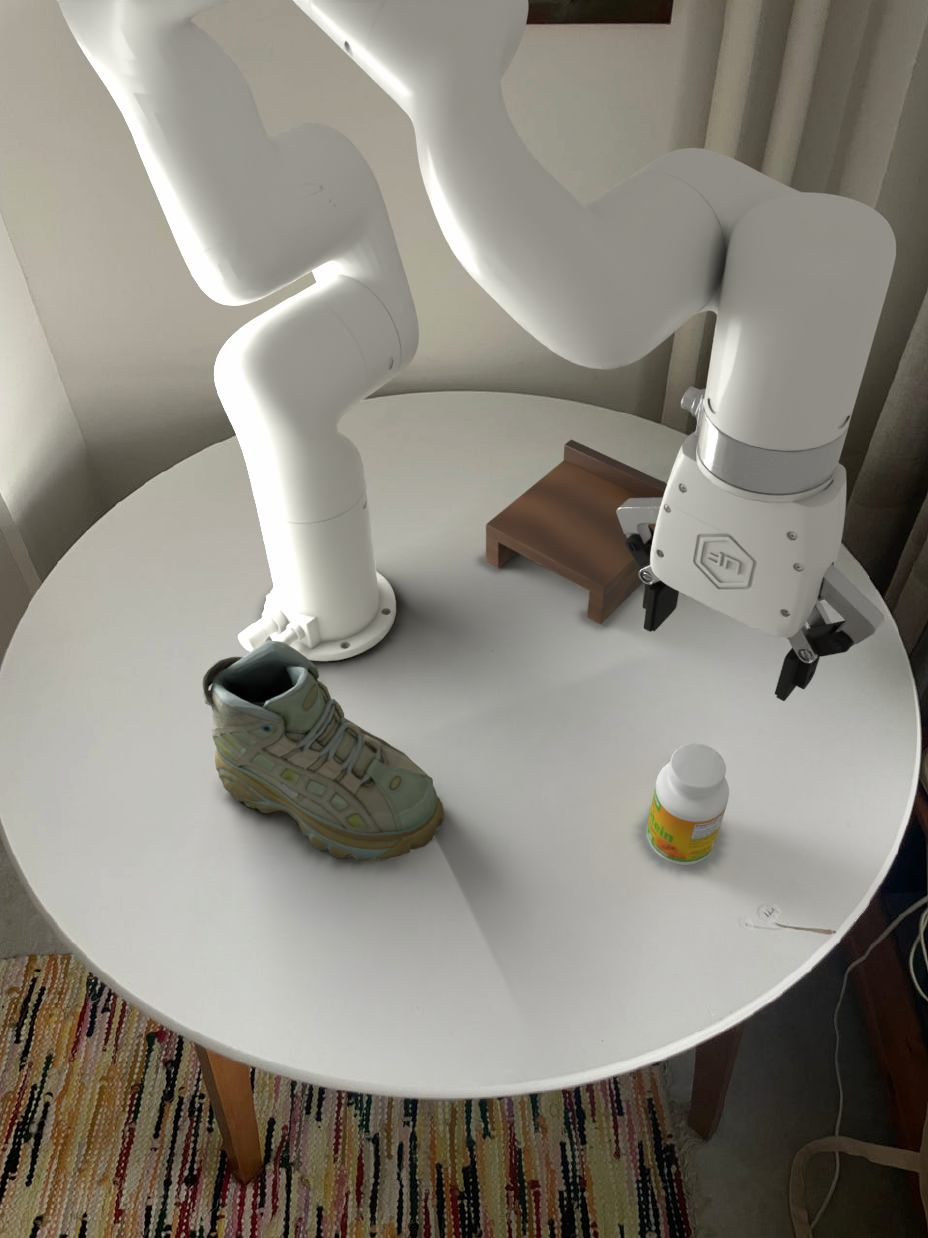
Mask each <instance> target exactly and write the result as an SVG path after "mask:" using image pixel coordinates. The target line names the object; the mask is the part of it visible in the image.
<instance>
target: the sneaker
mask: <svg viewBox="0 0 928 1238" xmlns="http://www.w3.org/2000/svg"><path fill="white" fill-rule="evenodd" d="M319 678H320V673H319V669H318V667H317V666H316V665H315V664H314V663H313V662H312V660H308V659H307V658H306V657H305V656H304V655H302V654H301V653H300V652H298V651H297V650H295V649H294V648H292V647H291V646H289V645H288V644H286V643H283V642H280V641H276V640H272V639H271V640H266V641H264V642H263V643H262V644H260V645H259V646H258V647H257V648H255V649H254V650H253V651H251V652H250V651H249V653H247V654H246V655H244V656H231V657H226V658H222V659H220V660H218V661H216V662H214V663H213V664H212V665H211V666H210V668H209V669H207V671H206V673H205V674H204V675H203V677H202V681H201V685H202V698H203V701H204V704H205V705H207V706H209V707H211V711H212V714H211V716H212V717H211V718H212V727H211V733H212V734H211V735H212V739H213V743H214V745H215V756H214V764H215V769H216V771H217V773H218V777H219V779H220V781H221V783H222V786H223V788H224V789H225V791H227V792H229V793H230V795H231V797H232V798H233V799H234V800H235V801H236V802H243V803H244V805H245V806H246V807H248V808H251V809H254V810H256V809H257V810H258V811H259V812H260V813H262V814H263V813H264V814H270V813H273V812H280V811H281V812H284V813H286V814H288V815H289V816H290V817H291V818H293V820H295V822H297V824H298V827H299V829H300V831H301V834H302V836H303V837H304V838H307V839H309V842H310V844H311V846H312V847H313V848H315V849H317V850H319V851H320V852H322V851H328V852H329V854H331V856H333V857H336V858H339V859H348V858H349V857H350V856H351V857H353V858H354V859H355V860H356V862H367V861H370V860H374V859H375V860H378V861H385V860H390V859H394V858H398V857H402V856H405V855H408V854H409V853H410V852H411V850H417V849H421V848H424V847H425V846H427V845H429V843H430V842H432V841H433V839H435V836H436V835H437V831H438V828H440V827H441V826H442V824H443V823H444V822H443V821H444V819H445V818H444V817H445V808H444V805H443V802H442V800H441V798H440V797H439V796H438V794H437V791H436V789H435V786H434V779H433V778H432V777H431V775H428V774H427V773H426V772H425V771H424V770H423V769H422V768H421V767H420V766H419V765H418V764H417V763H416V762H414V761H413V760H412V759H411V758H410V757H409V756H408V755H407V754H406V753H405V752H403V750H402V751H401V750H400V749H398V748H396V747H394V746H393V745H391V744H390V743H388V742H387V741H386V740H384V739H382V738H381V737H378V736H376V735H374V734H372V733H370V732H368V731H367V730H365V729H363V728H362V727H361V726H359V725H358V724H356V723H354V722H352V720H349V719H348V718H346V717H345V712H344V710H343V707H342V706H341V705H340V703H339V702H338V701H337V700H336V699H335V698H332V696H331V694H330V691H329V689H328V687H327V685H325V683H323V681H321V680H319ZM209 688H210V689H209Z"/></svg>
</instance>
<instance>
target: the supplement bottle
mask: <svg viewBox="0 0 928 1238" xmlns="http://www.w3.org/2000/svg"><path fill="white" fill-rule="evenodd" d="M726 772H727V767H726V762H725V760H724V758H723V756H722V755H721V754H720V753H719V752H718V751H717V750H716V749H714V748H713V747H711V746H709V745H706V744H705V743H704V744H703V743H695V742H693V743H686V744H683V745H681V746H679V747H677V749H676V750H674V752H673V753H672V755H671V757H670V760H669V762H667V763H666V764H664V766H663V767H662V768H661V770H660V771H659V773H658V774H657V779H656V780H655V785H654V790H653V796H652V799H651V800H652V801H651V805H650V811H649V816H648V819H647V824H646V838H647V840H648V843H649V845H650V847H651V849H652V850H653V851H654V852H655V853H656V854H657V855H658V856H660V857H661V858H662V859H664V860H666V861H667V862H669V863H672V864H676V865H681V866H688V865H693V864H697V863H700V862H702V861H704V860H705V859H706V858H707V857H709V856H710V855H711V853H712V852H713V849H714V848H715V845H716V843H717V840H718V836H719V834H720V833H719V832H720V830H721V826H722V823H723V819H724V816H725V812H726V809H727V805H728V802H729V797H730V787H729V783H728V780H727V778H726Z"/></svg>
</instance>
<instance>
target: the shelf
mask: <svg viewBox="0 0 928 1238" xmlns="http://www.w3.org/2000/svg"><path fill="white" fill-rule="evenodd" d="M667 483H668V482H665V481H663V480H661V479H658V478H656V477H654V476H652V475H650V474H648V473H646V472H643V471H641V470H639V469H637V468H635V467H632V466H631V465H628V464H626V463H623V462H622V461H619V460H617V459H615V458H614V457H613V458H612V457H611V456H608V455H606V454H604V453H602V452H600V451H597V450H596V449H593V448H590V447H589V446H587V445H584V444H582V443H580V442H578V441H576V440H573V439H569V440H568V441H567V442H566V443H564V448H563V460H562V461H561V462H560V463H559V464H557V465H556V466H555V467H554V468H552V470H550V471H548V472H547V473H546V474H545V475H544V476H543V477H541V479H539V480H537V482H536V483H534V484H532V486H531V487H529V488H528V489H527V490H526V491H525V492H523V493H522V494H521V495H519V496H518V497H517V498H515V500H514V501H512V502H511V503H510V504H509V505H507V506H506V507H505V508H504V509H503V510H501V511H500V512H499V513H497V514H496V515H495V516H494V517H493V518H491V519H490V520H489V521H488V522H487V523H486V524H485V562H486V563H488V564H490V565H492V566H494V567H495V568H497V569H499V568H500V567H502V565H504V564H505V563H506V562H507V561H509V560H510V559H511V558H512V557H513V556H514V555H516V553H518V554H519V555H521V556H524V557H525V558H527V559H529V560H530V561H532V562H535V563H536V564H538V565H540V566H542V567H544V568H546V569H547V570H549V571H551V572H553V573H555V574H557V575H559V576H560V577H562V578H564V579H566V580H568V581H570V582H572V583H573V584H575V585H577V586H578V587H581V588H583V589H585V590H587V591H588V592H589V594H588V604H587V613H586V614H587V615H586V617H587V618H588V619H589V620H592V621H593V622H595V623H597V624H599V625H602V624H603V623H604V622H605V621H606V620H607V619H608V618H609V617H610V616H611V615H612V614H614V612H615V611H616V610H617V609H618V608H619V607H620V606H621V605H622V604H623V603H624V602H625V601H626V600H627V599H628V598H629V597H630V596H631V595H633V593H634V592H635V591H636V590H637V589H638V588H639V587H640V586H641V585H642V584H644V582H642V581H641V579H640V578H639V571H640V570H641V568H640V566H639V565H638V563H637V562H636V560H635V559H634V557H633V556H632V554H631V553H630V551H629V550H628V548H627V546H626V543H625V542H626V539H627V536H626V534H624V532H623V530H622V527H621V524H620V521H619V519H618V516H617V512H616V511H617V509H618V508H619V507H620V506H621V505H622V504H623V503H624V502H626V501H627V500H628V499H629V498H662V497H663V496H664V493H665V489H666V486H667ZM648 526H649V527H651V528H652V530H653V531H655V527H656V524H649V525H648Z"/></svg>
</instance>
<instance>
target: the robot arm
mask: <svg viewBox="0 0 928 1238" xmlns="http://www.w3.org/2000/svg"><path fill="white" fill-rule="evenodd" d="M237 1H238V0H56V2H57V3H58V6H59V8H60V11H61V13H62V16H63V18H64V21H65V22H66V24H67V26H68V28H69V30H70V32H71V34H72V35H73V37H74V39H75V41H76V43H77V44H78V46H79V47H80V49H81V50H82V52H83V54H84V55H85V57H86V58H87V61H89V64H90V65H91V66H92V68H93V69H94V71H95V72H96V74H97V75H98V77H99V78H100V79H101V81H102V82H103V84H104V85H105V87H106V89H107V90H108V92H109V93H110V95H111V97H112V99H113V100H114V101H115V103H116V106H117V107H118V109H119V110H120V112H121V113H122V116H123V118H124V120H125V122H126V124H127V126H128V129H129V131H130V132H131V135H132V137H133V140H134V143H135V146H136V149H137V150H138V153H139V155H140V158H141V160H142V162H143V165H144V167H145V170H146V172H147V175H148V177H149V180H150V182H151V185H152V187H153V189H154V191H155V193H156V197H157V198H158V201H159V203H160V206H161V208H162V210H163V213H164V215H165V217H166V220H167V222H168V225H169V227H170V229H171V232H172V234H173V237H174V239H175V242H176V244H177V246H178V249H179V251H180V253H181V256H182V257H183V259H184V261H185V263H186V265H187V268H188V269H189V271H190V273H191V276H192V277H193V279H194V280H195V283H197V285H198V286H199V288H200V289H201V290H202V291H203V292H204V293H205V294H206V295H207V296H208V297H209V298H210V299H212V300H213V301H215V302H216V303H218V304H221V305H224V306H235V307H236V306H243V305H248V304H251V303H255V302H257V301H260V300H262V299H264V298H267V297H268V296H270V295H272V294H274V293H276V292H278V291H280V290H281V289H283V288H286V287H287V286H289V285H290V284H292V283H294V282H296V281H297V280H300V279H301V278H302V277H304V276H307V275H308V274H310V273H311V272H312V274H313V277H314V279H315V281H316V282H315V283H314V284H312V285H310V286H309V287H307V288H305V289H303V290H302V291H300V292H299V293H297V294H295V295H293V296H291V297H288V298H287V299H285V300H283V301H282V302H280V303H278V304H277V305H274V307H272V308H270V309H268V310H267V311H264V312H263V313H261V314H260V315H258V316H256V317H255V318H253V319H252V320H250V321H249V322H247V323H245V324H244V325H243V326H242V327H240V328H239V329H238V330H237V331H235V332H234V333H233V334H232V335H231V336H230V337H229V338H228V340H227V341H226V342H225V343H224V345H223V346H222V347H221V349H220V351H219V353H218V354H217V357H216V360H215V364H214V370H213V371H214V372H213V377H214V384H215V388H216V391H217V395H218V397H219V399H220V402H221V404H222V406H223V408H224V411H225V413H226V415H227V417H228V419H229V422H230V423H231V425H232V428H233V430H234V432H235V435H236V437H237V440H238V442H239V445H240V448H241V450H242V453H243V457H244V461H245V464H246V468H247V471H248V476H249V479H250V484H251V489H252V494H253V498H254V501H255V505H256V509H257V514H258V519H259V523H260V528H261V529H260V530H261V532H262V537H263V542H264V546H265V551H266V556H267V561H268V565H269V570H270V574H271V579H272V583H273V588H272V589H271V591H270V593H268V594H267V595H265V598H266V601H265V603H264V607H263V608H264V609H263V612H262V613H261V618H260V619H259V620H257V621H256V622H255V623H252V624H251V625H249V626H247V628H245V629H244V630H242V631H241V632H240V633H238V635H237V638H238V641H239V643H240V645H241V646H242V647H243V648H244V649H245V650H246V651H248V652H249V653H250V652H251V651H253V650H254V649H256V648H257V647H258V646H260V645H261V644H263V643H264V642H267V641H268V640H267V639H268V638H271V640H276V641H280V642H283V643H286V644H288V645H289V646H291V647H292V648H294V649H295V650H297V651H298V652H300V653H301V654H302V655H304V656H305V657H306V658H307V659H308V660H309V661H315V662H329V661H330V662H331V661H340V660H344V659H349V658H352V657H355V656H357V655H360V654H363V653H364V652H366V651H368V650H369V649H372V648H373V647H374V646H376V645H377V644H378V643H380V642H381V641H382V640H383V639H384V638H385V636H386V635H387V634H388V633H389V632H390V630H391V628H392V626H393V624H394V622H395V619H396V616H397V600H396V594H395V591H394V589H393V587H392V585H391V583H390V582H389V581H388V580H387V578H386V577H385V576H383V575H382V574H381V573H379V572H378V571H377V567H376V559H375V551H374V550H375V549H374V541H373V533H372V525H371V516H370V515H371V514H370V507H369V499H368V490H367V489H368V488H367V481H366V480H367V479H366V475H365V473H366V472H365V467H364V461H363V459H362V456H361V453H360V451H359V449H358V447H357V446H356V445H355V444H354V441H352V440H351V439H350V438H349V437H348V436H347V435H345V434H344V433H342V432H340V431H339V429H338V426H339V423H340V421H341V420H342V418H343V417H344V416H345V415H346V414H348V413H349V411H351V410H353V409H354V408H355V407H357V406H358V405H359V404H360V403H361V402H362V401H364V400H365V399H367V398H368V397H370V396H371V395H372V394H374V393H375V392H376V391H378V390H379V389H381V388H382V387H384V386H385V385H386V384H388V383H389V382H390V381H392V380H393V379H395V378H396V377H397V376H399V375H400V374H401V373H402V372H404V370H405V369H406V368H407V367H408V366H409V365H410V364H411V362H412V361H413V360H414V357H415V355H416V354H417V351H418V346H419V340H420V329H419V319H418V315H417V310H416V306H415V303H414V299H413V295H412V292H411V289H410V284H409V282H408V277H407V275H406V270H405V268H404V264H403V260H402V257H401V253H400V250H399V246H398V244H397V240H396V237H395V234H394V230H393V226H392V222H391V220H390V217H389V214H388V210H387V209H388V208H387V205H386V204H385V200H384V197H383V194H382V192H381V191H382V190H381V189H380V185H379V182H378V180H377V178H376V175H375V174H374V171H373V170H372V168H371V166H370V164H369V162H368V161H367V160H366V157H365V156H364V155H363V154H362V153H361V151H360V150H359V148H358V147H356V145H355V143H353V141H351V140H350V139H349V138H348V137H347V136H346V135H345V134H343V133H342V132H340V131H339V130H337V129H336V128H334V127H332V126H329V125H327V124H322V123H319V122H303V123H299V124H295V125H291V126H289V127H286V128H284V129H281V130H279V131H277V132H275V133H272V134H270V135H269V136H268V134H267V131H266V129H265V127H264V124H263V121H262V119H261V117H260V114H259V111H258V108H257V104H256V101H255V98H254V95H253V92H252V89H251V87H250V85H249V82H248V81H247V78H246V76H245V74H244V73H243V71H242V70H241V68H240V66H238V64H237V63H236V61H235V60H234V59H233V58H232V57H231V56H230V54H228V52H227V51H226V50H225V49H224V48H223V47H222V46H221V45H220V44H219V43H218V42H217V40H215V39H214V38H213V37H212V36H211V35H209V34H208V33H207V32H206V31H205V30H203V28H201V27H200V26H198V25H197V24H195V23H194V22H193V21H192V19H193V18H194V17H195V16H196V15H199V14H200V13H202V12H205V11H207V10H208V11H209V10H210V9H213V8H216V7H220V6H222V5H226V4H229V3H232V2H237ZM292 2H293V3H294V4H296V6H297V7H298V8H300V10H301V11H302V12H304V14H306V15H307V16H308V17H309V18H310V19H311V21H313V23H315V25H316V26H318V27H319V28H320V30H322V31H323V32H324V33H325V34H326V35H327V36H328V37H329V38H330V39H331V40H332V41H333V42H334V43H335V44H336V45H337V46H338V47H339V48H340V49H341V50H342V51H343V52H344V53H346V55H347V56H348V57H349V58H350V59H351V60H353V62H354V63H356V64H357V66H358V67H359V68H361V70H363V72H365V74H367V75H368V76H369V77H370V78H371V79H372V81H374V82H375V83H376V85H378V86H379V87H380V88H381V89H382V90H383V92H385V93H386V94H387V95H388V96H389V97H390V98H391V99H392V100H393V101H394V102H395V103H396V104H397V105H398V106H399V107H400V108H401V109H402V110H403V111H404V112H405V113H406V114H407V116H408V117H409V119H410V121H411V122H412V126H413V129H414V135H415V145H416V153H417V159H418V164H419V171H420V174H421V178H422V183H423V185H424V189H425V192H426V194H427V197H428V199H429V202H430V205H431V208H432V210H433V213H434V216H435V218H436V220H437V223H438V225H439V227H440V230H441V232H442V234H443V237H444V238H445V240H446V242H447V244H448V246H449V248H450V250H451V252H452V253H453V255H454V256H455V257H456V259H457V260H458V262H459V263H460V264H461V266H462V267H463V269H464V270H465V271H466V272H467V273H468V274H469V275H470V277H471V278H472V279H473V280H474V281H475V282H476V283H477V284H478V285H479V286H480V287H481V289H483V290H484V291H485V292H486V293H487V294H488V295H489V297H491V298H492V299H493V300H494V301H495V302H496V303H497V304H498V305H499V306H500V307H501V308H502V309H503V310H504V311H505V312H506V313H507V314H508V315H509V317H511V318H512V319H513V320H514V321H515V322H516V323H517V324H518V325H519V326H521V327H522V328H523V329H524V330H525V331H526V332H527V333H528V334H530V335H531V336H532V337H533V338H535V340H537V341H538V342H539V343H540V344H541V345H543V346H545V347H546V348H547V349H548V350H549V351H551V352H552V353H554V354H555V355H557V356H559V357H561V358H563V359H565V360H567V361H569V362H570V363H572V364H575V365H578V366H581V367H583V368H587V369H593V370H613V369H619V368H623V367H627V366H629V365H631V364H633V363H636V362H638V361H640V360H641V359H642V358H645V357H646V356H647V355H648V354H649V353H651V352H652V351H654V350H655V349H656V348H657V347H659V346H660V345H661V344H662V343H663V342H664V341H666V340H667V339H668V338H669V337H671V336H672V335H673V334H674V333H675V332H677V330H678V329H679V328H681V327H682V326H683V325H684V324H685V323H686V322H687V321H689V320H690V319H691V318H693V316H694V315H697V314H701V313H705V312H713V313H714V314H715V315H716V321H715V326H714V333H713V340H712V341H713V342H712V347H711V353H710V359H709V367H708V373H707V379H706V385H705V388H702V389H699V388H697V387H694V386H689V387H688V388H687V389H686V390H685V392H684V393H683V396H682V399H681V401H680V408H681V409H682V410H684V411H686V412H688V413H690V414H691V416H692V417H695V418H696V428H695V431H693V432H691V433H690V434H688V436H686V438H685V439H684V440H683V442H682V445H681V446H680V448H679V450H678V452H677V455H676V458H675V461H674V463H673V466H672V468H671V472H670V474H669V478H668V480H667V482H666V483H667V486H666V489H665V493H664V496H663V497H662V498H629V499H628V500H627V501H626V502H624V503H623V504H622V505H621V506H620V507H619V508H618V509H617V511H616V512H617V516H618V519H619V521H620V524H621V527H622V530H623V532H624V534H626V536H627V539H626V542H625V543H626V546H627V548H628V550H629V551H630V553H631V554H632V556H633V557H634V559H635V560H636V562H637V563H638V565H639V566H640V568H641V570H640V571H639V578H640V579H641V581H642V582H643V584H644V591H643V599H642V608H643V609H644V610H645V613H644V619H643V620H644V621H643V629H644V630H646V631H647V632H649V633H652V632H656V631H657V630H658V629H659V628H660V626H661V625H663V623H665V621H666V620H667V619H668V618H669V617H670V616H671V615H672V614H673V613H674V612H675V611H676V609H677V607H678V600H679V595H680V593H681V594H683V595H684V596H687V597H688V598H690V599H693V600H695V601H697V602H699V603H701V604H702V605H704V606H707V607H709V608H711V609H713V610H715V611H717V612H719V613H721V614H723V615H725V616H728V617H730V618H731V619H734V620H736V621H737V622H739V623H742V624H744V625H746V626H749V627H750V628H752V629H755V630H757V631H759V632H760V633H764V634H766V635H769V636H772V637H777V638H783V639H787V640H788V642H789V644H790V646H791V648H790V650H789V651H788V652H787V653H786V655H785V657H784V659H783V663H782V666H781V669H780V673H779V676H778V680H777V683H776V687H775V691H774V695H775V697H776V699H779V700H780V701H782V702H785V701H787V699H788V698H789V696H790V695H791V694H792V693H793V691H794V690H795V689H796V688H800V689H802V690H806V688H807V687H808V685H809V684H810V683H811V681H812V680H813V677H814V676H815V673H816V671H817V668H818V664H819V662H820V658H823V657H827V656H832V655H838V654H843V653H847V652H848V651H849V650H850V649H851V648H852V647H853V646H856V645H858V644H859V643H861V642H863V641H865V640H866V639H868V638H870V637H871V636H873V635H874V634H875V633H876V632H877V631H878V629H879V628H880V627H881V625H882V624H883V622H884V621H885V614H883V613H884V612H883V611H881V610H880V609H879V608H878V607H877V606H876V605H875V604H874V603H873V602H872V601H871V600H870V599H869V598H868V597H867V596H865V594H863V592H861V590H860V589H858V587H856V585H854V584H853V583H852V581H850V580H849V579H848V578H847V577H846V576H845V575H844V574H843V573H842V572H841V571H840V570H839V569H838V568H837V564H838V560H839V555H840V549H841V545H842V539H843V533H844V527H845V517H846V508H847V470H846V469H847V468H846V467H845V466H844V465H843V464H841V463H840V459H841V454H842V452H843V448H844V445H845V440H846V438H847V435H848V430H849V428H850V422H851V418H852V415H853V412H854V408H855V405H856V402H857V398H858V394H859V391H860V387H861V384H862V381H863V377H864V374H865V371H866V368H867V364H868V359H869V356H870V353H871V349H872V345H873V342H874V339H875V335H876V331H877V329H878V328H877V327H878V325H879V321H880V317H881V314H882V311H883V307H884V303H885V300H886V296H887V294H888V293H887V292H888V289H889V286H890V283H891V280H892V279H891V278H892V275H893V271H894V267H895V262H896V256H897V241H896V237H895V234H894V231H893V229H892V227H891V225H890V223H889V222H888V221H887V218H885V217H884V216H883V215H882V214H880V213H879V212H878V210H876V209H874V208H873V207H871V206H869V205H868V204H865V203H863V202H861V201H859V200H856V199H853V198H850V197H847V196H841V195H839V194H838V195H837V194H831V193H825V192H808V191H807V192H805V191H803V192H802V191H800V190H797V189H795V188H794V187H790V186H789V185H786V184H784V183H783V182H780V181H779V180H777V179H775V178H772V177H770V176H768V175H766V174H764V173H762V172H760V171H758V170H757V169H755V168H753V167H751V166H749V165H747V164H745V163H743V162H742V161H739V160H738V159H735V158H733V157H731V156H729V155H726V154H723V153H721V152H718V151H715V150H712V149H708V148H700V147H687V148H685V147H684V148H679V149H675V150H672V151H670V152H668V153H665V154H663V155H660V156H659V157H657V158H655V159H653V160H652V161H651V162H649V163H647V164H646V165H645V166H643V167H642V168H640V169H639V170H637V171H636V172H634V173H633V174H631V175H630V176H628V177H627V178H625V179H623V180H621V181H620V182H618V183H616V184H615V185H613V186H612V187H610V188H608V189H607V190H605V191H604V192H602V193H601V194H600V195H598V196H597V197H595V198H594V199H592V200H591V201H589V202H587V203H586V204H583V203H581V202H580V200H578V199H577V198H576V197H575V196H574V195H573V194H572V193H571V191H569V190H568V189H566V187H565V186H564V185H562V184H561V182H560V181H559V180H557V178H555V176H553V174H552V173H551V172H550V171H549V170H548V169H546V168H545V166H544V165H542V163H541V162H540V161H539V160H538V159H537V157H536V156H535V155H534V154H533V153H532V152H531V150H530V149H529V148H528V147H527V145H526V144H525V142H524V140H523V139H522V137H521V136H520V134H518V132H517V130H516V128H515V126H514V123H513V122H512V119H511V118H510V115H509V113H508V110H507V107H506V103H505V101H504V97H503V90H502V83H501V81H502V80H503V78H504V77H505V75H506V73H507V72H508V69H509V68H510V66H511V64H512V62H513V60H514V59H515V56H516V54H517V52H518V49H519V47H520V44H521V42H522V40H523V37H524V33H525V30H526V26H527V21H528V16H529V0H292ZM649 524H656V527H655V531H653V530H652V528H651V527H649V526H648V525H649ZM823 600H824V601H825V602H826V603H827V604H828V605H829V606H830V607H831V608H833V609H834V610H835V611H836V613H838V615H840V616H841V617H842V619H843V620H841V621H836V622H832V621H831V619H830V617H829V615H828V613H827V612H826V610H825V608H824V606H823V604H822V602H821V601H823ZM806 624H807V625H808V628H807V627H806Z"/></svg>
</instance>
